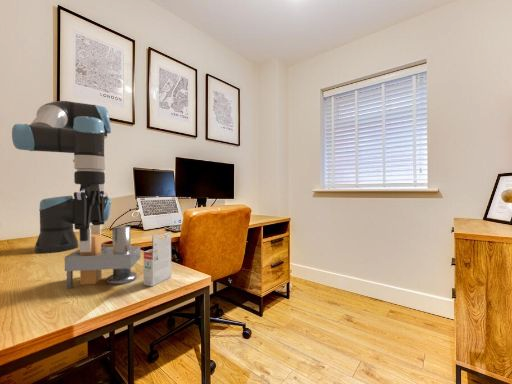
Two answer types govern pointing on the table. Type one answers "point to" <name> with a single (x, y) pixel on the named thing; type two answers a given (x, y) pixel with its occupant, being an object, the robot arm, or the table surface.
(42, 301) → the table surface
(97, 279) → the orange rectangular prism
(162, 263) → the ink box
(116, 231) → the legged grey stand
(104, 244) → the mug
